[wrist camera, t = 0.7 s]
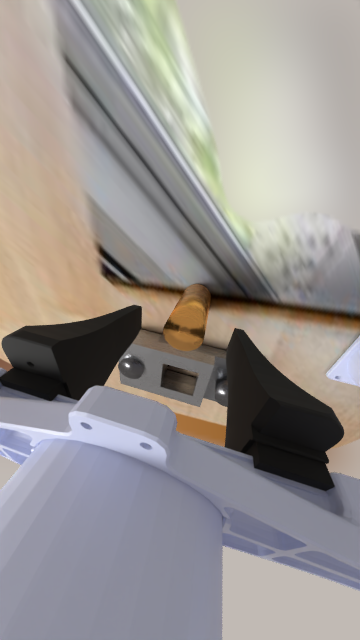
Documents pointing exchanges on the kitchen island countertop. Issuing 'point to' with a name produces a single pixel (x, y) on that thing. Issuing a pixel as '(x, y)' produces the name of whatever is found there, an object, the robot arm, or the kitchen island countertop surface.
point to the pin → (188, 319)
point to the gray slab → (152, 375)
